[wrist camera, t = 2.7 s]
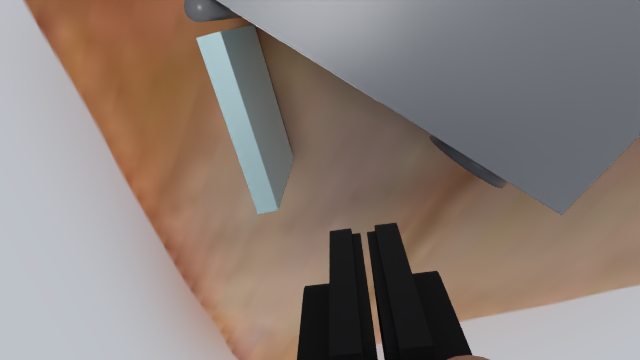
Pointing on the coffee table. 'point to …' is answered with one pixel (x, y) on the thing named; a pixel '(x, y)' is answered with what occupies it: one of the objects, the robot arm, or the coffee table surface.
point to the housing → (481, 76)
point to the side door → (250, 112)
